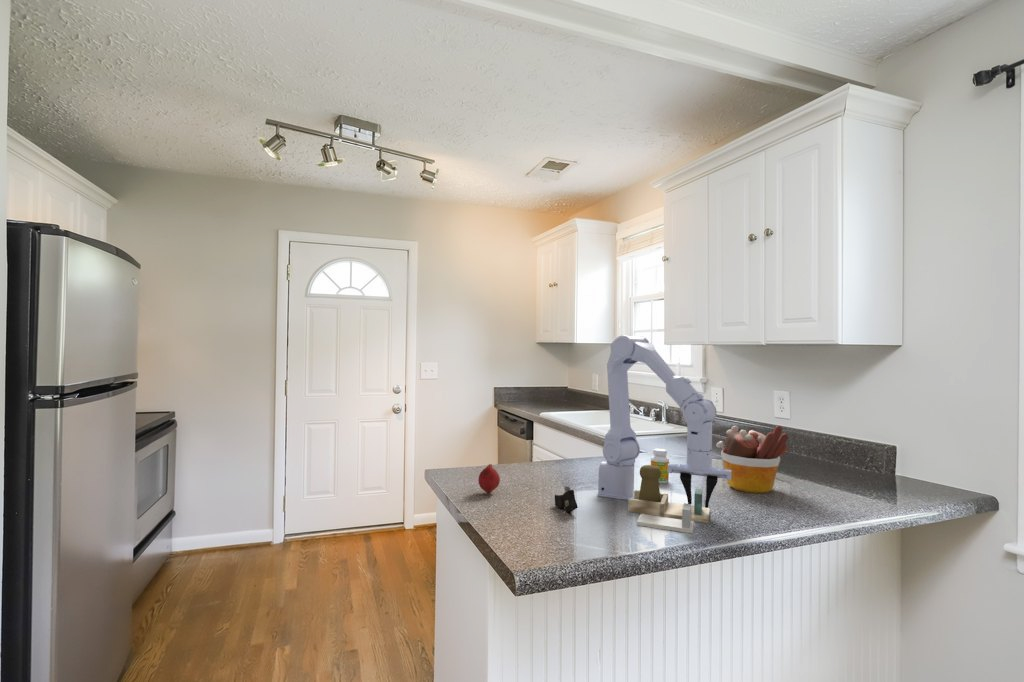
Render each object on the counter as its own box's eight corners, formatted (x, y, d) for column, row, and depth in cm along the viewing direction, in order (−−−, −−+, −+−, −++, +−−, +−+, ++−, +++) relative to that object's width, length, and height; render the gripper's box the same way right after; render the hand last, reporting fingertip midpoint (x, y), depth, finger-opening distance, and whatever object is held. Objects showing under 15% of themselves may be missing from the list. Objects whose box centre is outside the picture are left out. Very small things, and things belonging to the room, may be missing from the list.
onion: (489, 497, 134) (490, 467, 134) (473, 493, 138) (474, 464, 138) (503, 493, 139) (504, 463, 139) (487, 489, 142) (488, 460, 143)
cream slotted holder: (628, 511, 125) (628, 487, 125) (634, 501, 134) (635, 478, 134) (708, 523, 118) (709, 498, 118) (709, 511, 127) (710, 487, 127)
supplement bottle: (656, 483, 153) (657, 451, 154) (647, 479, 159) (647, 448, 159) (672, 483, 155) (672, 451, 155) (662, 478, 160) (662, 447, 160)
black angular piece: (555, 518, 127) (550, 496, 130) (563, 517, 128) (558, 495, 131) (569, 508, 120) (564, 484, 123) (578, 507, 121) (572, 483, 124)
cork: (659, 506, 130) (659, 463, 131) (664, 514, 124) (665, 469, 125) (635, 505, 131) (636, 462, 131) (639, 512, 125) (640, 468, 125)
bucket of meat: (705, 482, 156) (706, 418, 157) (743, 478, 163) (744, 416, 163) (760, 501, 138) (761, 427, 138) (801, 495, 145) (802, 425, 145)
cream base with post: (636, 524, 115) (637, 503, 115) (640, 517, 121) (641, 497, 121) (692, 533, 111) (693, 511, 111) (694, 525, 116) (694, 504, 116)
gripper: (666, 449, 123) (665, 505, 122) (731, 455, 117) (730, 514, 117) (669, 444, 129) (668, 498, 129) (731, 450, 124) (730, 506, 123)
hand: (698, 505), depth 123 cm, fingers open, 3 cm apart
